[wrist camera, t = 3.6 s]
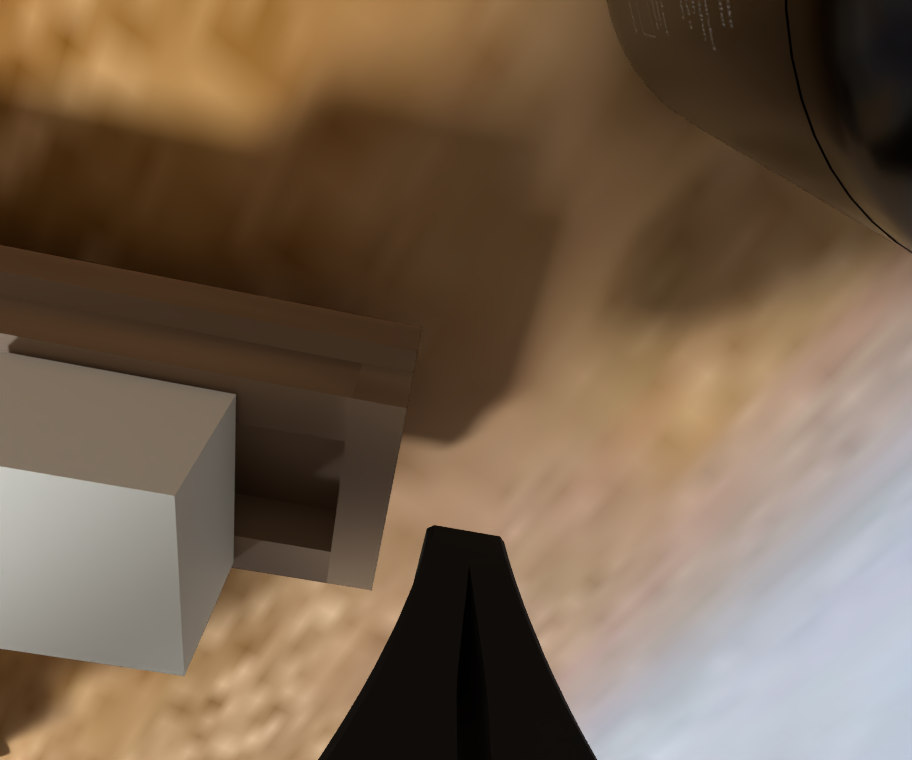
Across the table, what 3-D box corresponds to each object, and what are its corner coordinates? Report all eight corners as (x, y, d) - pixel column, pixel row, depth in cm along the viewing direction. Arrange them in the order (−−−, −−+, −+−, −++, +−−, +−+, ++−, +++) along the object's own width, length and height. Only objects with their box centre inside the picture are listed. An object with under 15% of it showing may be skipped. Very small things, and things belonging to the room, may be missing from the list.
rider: (251, 521, 14) (184, 675, 11) (72, 491, 14) (-50, 641, 11) (256, 359, 12) (174, 495, 9) (42, 319, 12) (-123, 445, 9)
